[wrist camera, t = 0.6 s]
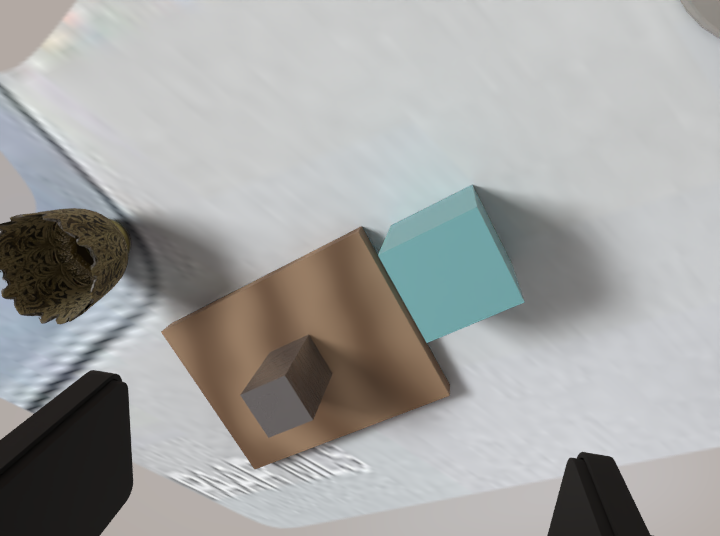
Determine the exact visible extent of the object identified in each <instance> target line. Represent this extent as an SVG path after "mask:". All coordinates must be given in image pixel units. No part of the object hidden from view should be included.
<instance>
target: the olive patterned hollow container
mask: <svg viewBox="0 0 720 536" xmlns="http://www.w3.org/2000/svg"><path fill="white" fill-rule="evenodd" d="M10 219H11V221H10V222H6V223H2V224H0V231H1V232H0V270H2V272H3V277H2V279H3V280H6V281H7V283H8V286H7V287H6V288H5V289H2V291H1V293H2V297H3V298H5V299H14V306H15V308H16V310H17V311H18V313H19V314H20V315H24V316H41V319H40V318H39V319H40V322H41V323H47V322H49V321H51V320H53V319H55V318H56V322H57V324H63V323H66V322H68V321H69V322H70V321H72V320H74V319H75V318H77V317H78V316H80V315H82V314H83V313H84V312H86V311H87V310H88V309H89V308H90V307H91V306H93V305H94V304H95V303H96V302H97V301H99V300H100V299H101V298H102V297H103V296H104V295H106V294H107V293H108V292H109V291H110V290H111V289H112V288H113V287H114V286H115V285H116V284H117V283H118V281H119V280H120V279H121V277H122V276H123V274H124V272H125V269H126V267H127V263H128V254H129V252H130V249H131V238H130V235H129V233H128V231H127V230H126V228H125V227H124V226H123V225H122V224H120V223H119V222H117V221H115V220H112V219H108V218H106V217H105V216H103V215H101V214H99V213H97V212H94V211H91V210H86V209H76V208H73V209H58V210H51V211H44V212H38V213H32V214H23V215H17V216H14V217H11V218H10ZM0 272H1V271H0Z"/></svg>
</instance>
